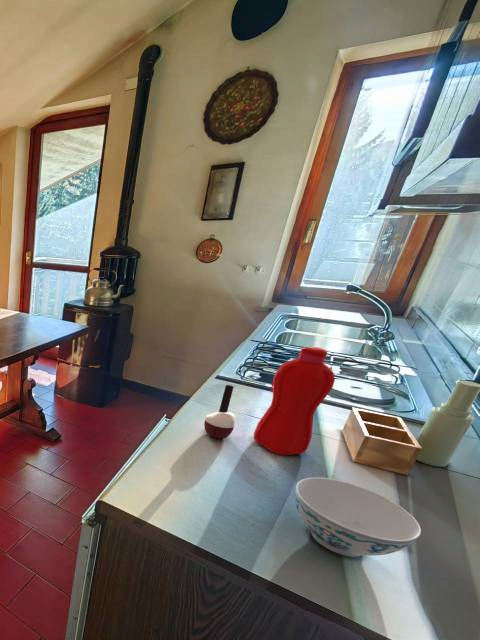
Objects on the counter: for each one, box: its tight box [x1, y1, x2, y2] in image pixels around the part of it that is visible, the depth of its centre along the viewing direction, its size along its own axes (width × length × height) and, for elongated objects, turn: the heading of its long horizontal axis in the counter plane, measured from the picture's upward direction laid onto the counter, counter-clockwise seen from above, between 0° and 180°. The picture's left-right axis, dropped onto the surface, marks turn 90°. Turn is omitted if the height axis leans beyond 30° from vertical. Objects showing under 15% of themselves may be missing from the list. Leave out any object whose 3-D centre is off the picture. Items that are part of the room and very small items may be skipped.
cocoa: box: [203, 384, 236, 440], centre depth 96 cm, size 10×6×12 cm, turn 122°
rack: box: [341, 407, 422, 476], centre depth 91 cm, size 9×17×7 cm, turn 145°
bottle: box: [415, 380, 480, 468], centre depth 86 cm, size 6×6×19 cm
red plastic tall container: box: [253, 346, 336, 456], centre depth 90 cm, size 9×11×25 cm
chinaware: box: [294, 477, 422, 558], centre depth 65 cm, size 15×15×8 cm
